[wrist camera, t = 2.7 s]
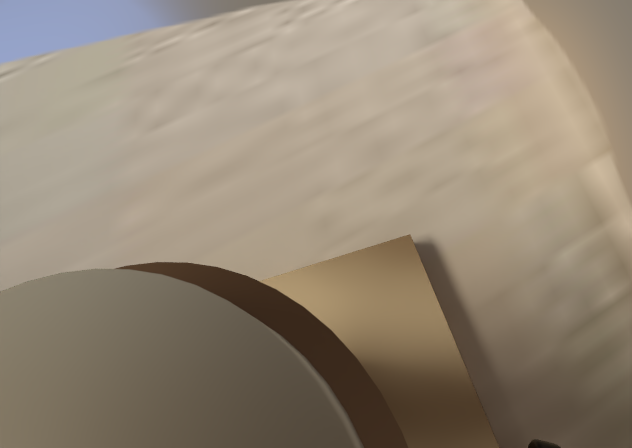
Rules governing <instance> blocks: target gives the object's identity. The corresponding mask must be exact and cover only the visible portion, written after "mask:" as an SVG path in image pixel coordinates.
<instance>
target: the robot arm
mask: <svg viewBox="0 0 632 448" xmlns="http://www.w3.org/2000/svg"><path fill="white" fill-rule="evenodd" d="M528 448H561V447H559V446H558V445H556V444H553V443H549V442H545V441H541V440H537V439H535V440H532V441H531V442H530V444H529V446H528Z"/></svg>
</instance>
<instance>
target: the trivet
mask: <svg viewBox="0 0 632 448" xmlns="http://www.w3.org/2000/svg"><path fill="white" fill-rule="evenodd" d="M259 282H261V283H264V284H266V285H268V286H270V287H272V288H275V289H277V290H278V291H280V292H281V293H283V294H284V295H286V296H288V297H289V298H291V299H292V300H294V301H295V302H297V303H299V304H300V305H302V306H303V307H305V308H306V309H307V310H308V311H309V312H311V313H312V314H313V315H314V316H315V317H317V318H318V319H319V320H320V321H321V322H322V323H324V324H325V325H326V326H327V327H328V328H330V329H331V330H332V331H333V332H334V333H335V335H336V336H337V337H338V338H339V339H340V340H341V341H342V342H343V343H344V344H345V346H346V347H347V348H348V349H349V350H350V351H351V352H352V353H353V354H354V356H355V357H356V358H357V359H358V360H359V362H360V363H361V365H362V366H363V367H364V369H365V370H366V372H367V373H368V375H369V376H370V377H371V379H372V380H373V382H374V383H375V385H376V386H377V387H378V389H379V390H380V392H381V393H382V395H383V397H384V399H385V401H386V403H387V405H388V407H389V408H390V410H391V412H392V414H393V416H394V418H395V420H396V421H397V423H398V425H399V427H400V429H401V431H402V433H403V435H404V438H405V441H406V443H407V446H408V448H499V445H498V443H497V441H496V438H495V436H494V433H493V431H492V429H491V426H490V424H489V422H488V419H487V417H486V414H485V412H484V410H483V407H482V405H481V402H480V400H479V398H478V395H477V393H476V391H475V388H474V386H473V383H472V381H471V379H470V376H469V374H468V371H467V369H466V367H465V364H464V362H463V359H462V357H461V355H460V352H459V350H458V348H457V345H456V343H455V340H454V338H453V336H452V333H451V331H450V328H449V326H448V324H447V321H446V319H445V317H444V314H443V312H442V309H441V307H440V305H439V302H438V300H437V297H436V295H435V293H434V290H433V288H432V285H431V283H430V281H429V278H428V276H427V274H426V271H425V269H424V266H423V264H422V262H421V259H420V257H419V254H418V252H417V250H416V247H415V245H414V243H413V240H412V238H411V235H407V236H403V237H400V238H397V239H394V240H390V241H387V242H384V243H381V244H378V245H374V246H371V247H368V248H365V249H362V250H358V251H355V252H352V253H349V254H346V255H342V256H339V257H336V258H333V259H329V260H326V261H323V262H320V263H317V264H313V265H310V266H307V267H304V268H301V269H297V270H294V271H291V272H288V273H285V274H281V275H278V276H275V277H272V278H268V279H265V280H262V281H259Z"/></svg>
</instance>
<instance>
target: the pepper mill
mask: <svg viewBox="0 0 632 448" xmlns="http://www.w3.org/2000/svg"><path fill="white" fill-rule="evenodd" d="M0 448H408V446H407V443H406V441H405V438H404V435H403V433H402V431H401V429H400V427H399V425H398V423H397V421H396V420H395V418H394V416H393V414H392V412H391V410H390V408H389V407H388V405H387V403H386V401H385V399H384V397H383V395H382V393H381V392H380V390H379V389H378V387H377V386H376V385H375V383H374V382H373V380H372V379H371V377H370V376H369V375H368V373H367V372H366V370H365V369H364V367H363V366H362V365H361V363H360V362H359V360H358V359H357V358H356V357H355V356H354V354H353V353H352V352H351V351H350V350H349V349H348V348H347V347H346V346H345V344H344V343H343V342H342V341H341V340H340V339H339V338H338V337H337V336H336V335H335V333H334V332H333V331H332V330H331V329H330V328H328V327H327V326H326V325H325V324H324V323H322V322H321V321H320V320H319V319H318V318H317V317H315V316H314V315H313V314H312V313H311V312H309V311H308V310H307V309H306V308H305V307H303V306H302V305H300V304H299V303H297V302H295V301H294V300H292V299H291V298H289V297H288V296H286V295H284V294H283V293H281V292H280V291H278V290H277V289H275V288H272V287H270V286H268V285H266V284H264V283H261V282H259V281H257V280H255V279H253V278H250V277H248V276H245V275H242V274H239V273H235V272H232V271H229V270H225V269H222V268H218V267H213V266H206V265H199V264H193V263H173V262H155V263H147V264H138V265H130V266H124V267H120V268H116V269H91V270H82V271H74V272H65V273H60V274H56V275H51V276H47V277H43V278H39V279H35V280H31V281H27V282H25V283H22V284H19V285H17V286H14V287H11V288H9V289H6V290H3V291H1V292H0Z"/></svg>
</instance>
